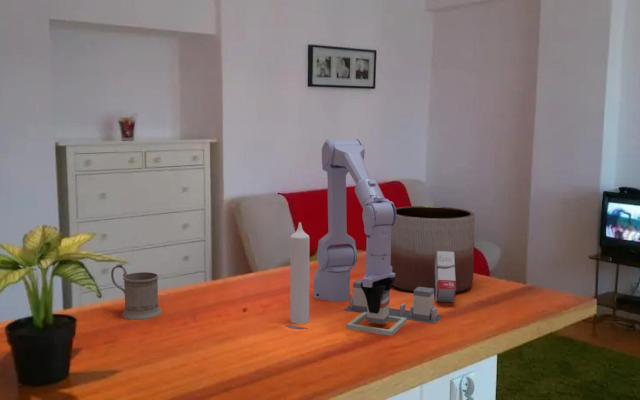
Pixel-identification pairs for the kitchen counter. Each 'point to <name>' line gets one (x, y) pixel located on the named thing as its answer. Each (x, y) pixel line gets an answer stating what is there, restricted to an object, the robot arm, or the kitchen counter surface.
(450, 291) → the ink box
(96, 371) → the kitchen counter surface
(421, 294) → the fuse right
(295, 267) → the candle
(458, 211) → the planter
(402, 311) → the board
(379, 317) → the red banded fuse
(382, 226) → the robot arm
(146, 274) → the mug
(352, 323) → the grey square frame
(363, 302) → the block
